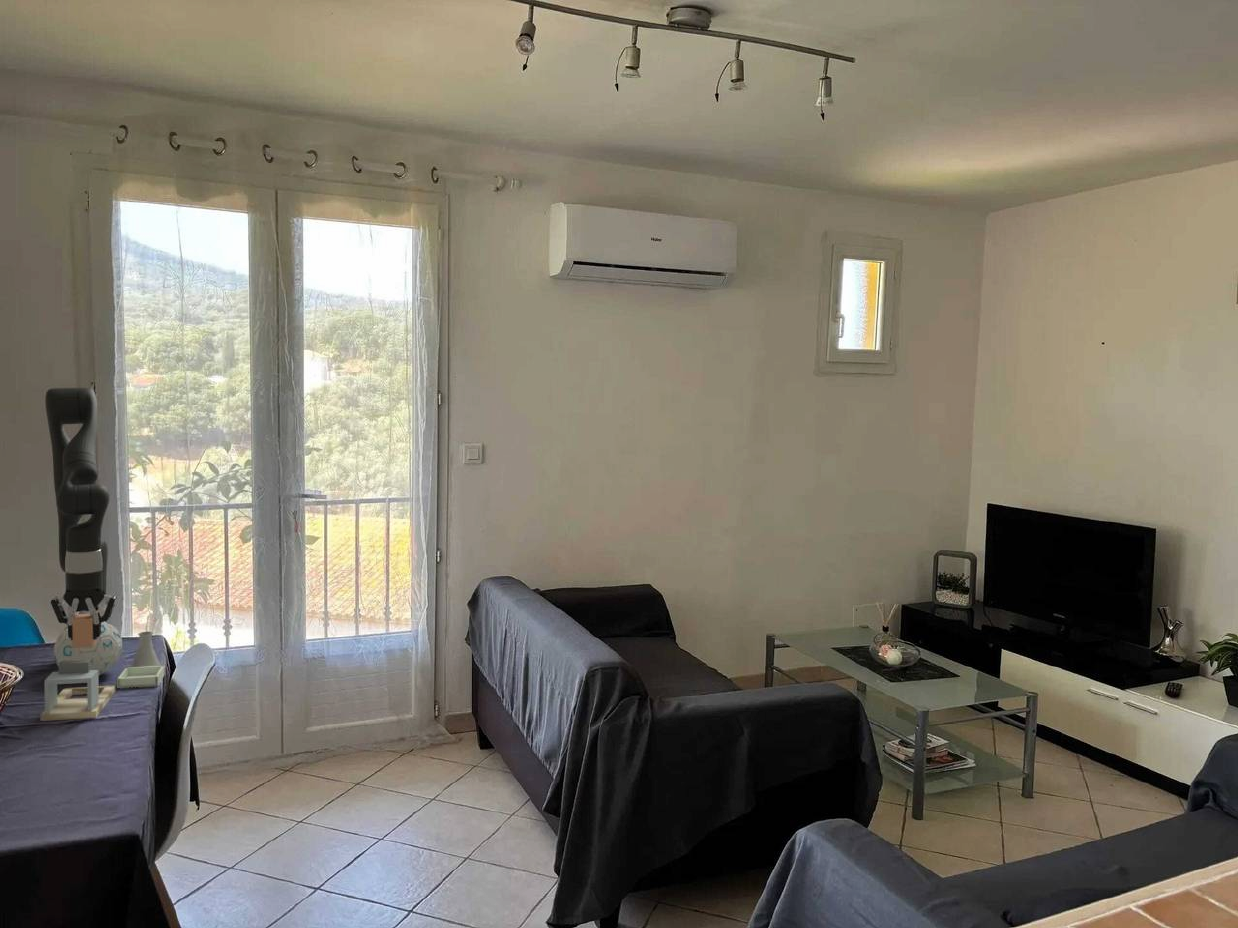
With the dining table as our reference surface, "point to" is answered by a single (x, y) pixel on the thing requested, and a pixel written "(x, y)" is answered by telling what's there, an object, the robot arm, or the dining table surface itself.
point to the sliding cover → (72, 674)
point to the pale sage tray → (141, 677)
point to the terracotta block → (83, 631)
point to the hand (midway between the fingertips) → (84, 638)
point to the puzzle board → (77, 704)
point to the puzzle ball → (91, 649)
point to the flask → (145, 652)
